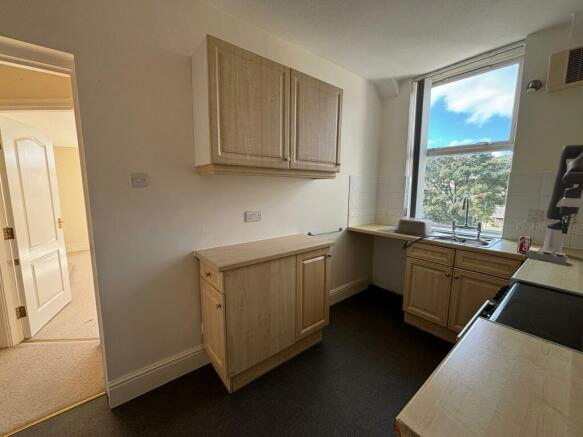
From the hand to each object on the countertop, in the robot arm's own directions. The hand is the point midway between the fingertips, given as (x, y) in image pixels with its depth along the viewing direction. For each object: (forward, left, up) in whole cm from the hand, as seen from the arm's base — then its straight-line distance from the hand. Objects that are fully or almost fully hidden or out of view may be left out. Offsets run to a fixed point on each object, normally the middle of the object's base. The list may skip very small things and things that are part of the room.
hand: (564, 233), depth 150 cm
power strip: (-2, -6, -19) cm, 20 cm away
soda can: (-11, -19, -19) cm, 29 cm away
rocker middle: (-2, -6, -13) cm, 15 cm away
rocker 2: (-2, 0, -13) cm, 13 cm away
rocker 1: (-2, -12, -13) cm, 18 cm away
